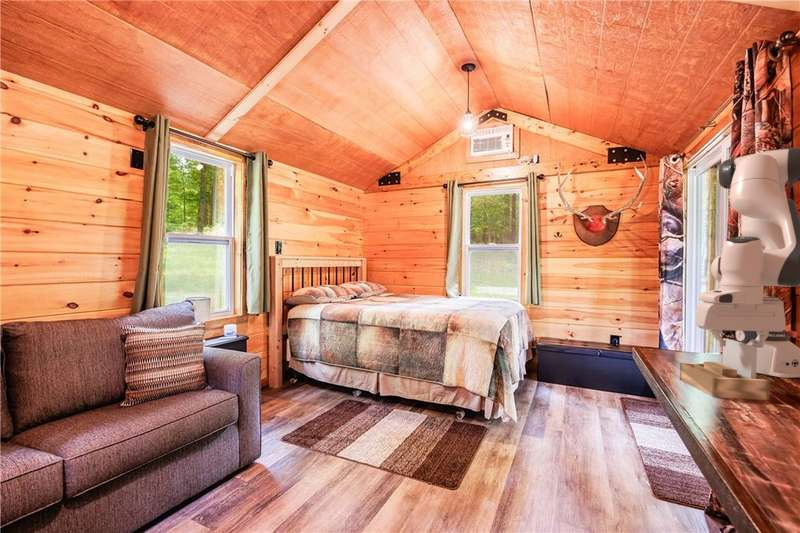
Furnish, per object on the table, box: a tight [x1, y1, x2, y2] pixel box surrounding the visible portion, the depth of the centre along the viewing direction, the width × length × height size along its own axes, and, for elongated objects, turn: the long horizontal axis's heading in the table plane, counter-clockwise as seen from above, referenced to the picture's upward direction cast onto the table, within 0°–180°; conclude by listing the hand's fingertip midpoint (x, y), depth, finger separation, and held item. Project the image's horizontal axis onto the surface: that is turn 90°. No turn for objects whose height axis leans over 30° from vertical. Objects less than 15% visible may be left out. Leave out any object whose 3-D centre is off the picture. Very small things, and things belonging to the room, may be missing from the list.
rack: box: [679, 362, 771, 401], centre depth 102 cm, size 13×14×6 cm
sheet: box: [721, 338, 757, 379], centre depth 101 cm, size 1×10×13 cm, turn 173°
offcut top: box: [703, 361, 737, 378], centre depth 102 cm, size 4×7×2 cm, turn 173°
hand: (738, 346), depth 101 cm, fingers open, 8 cm apart
